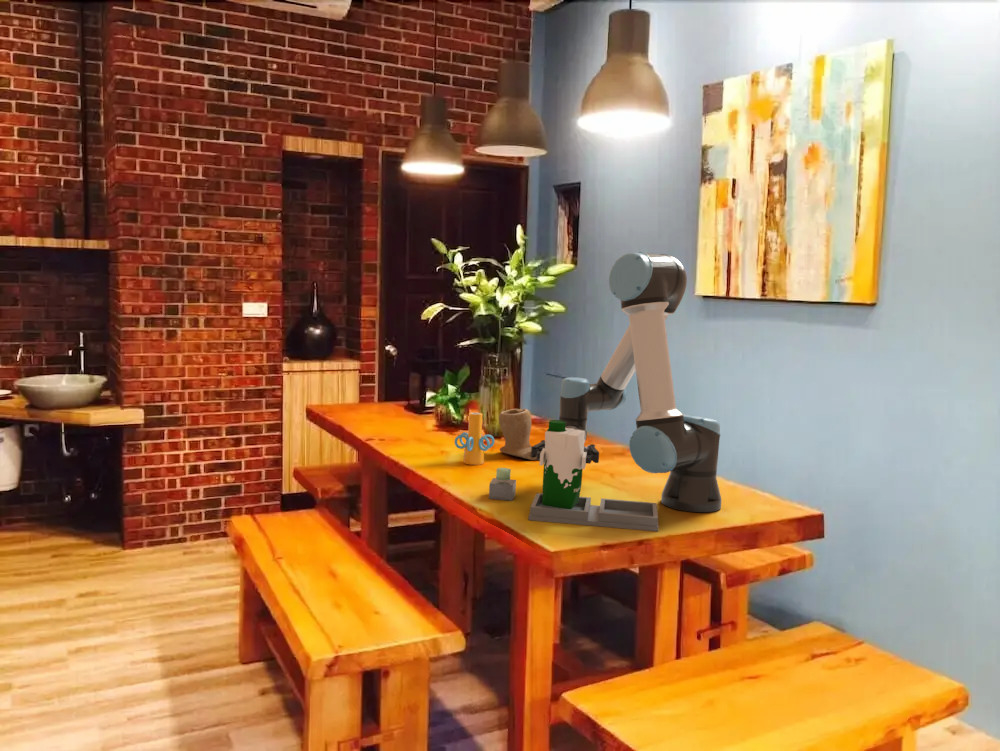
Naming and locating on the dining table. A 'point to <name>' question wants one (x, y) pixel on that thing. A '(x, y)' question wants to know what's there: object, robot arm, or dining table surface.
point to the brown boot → (516, 432)
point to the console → (502, 489)
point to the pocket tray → (599, 513)
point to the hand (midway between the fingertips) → (562, 461)
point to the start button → (503, 474)
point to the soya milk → (562, 465)
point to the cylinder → (474, 441)
